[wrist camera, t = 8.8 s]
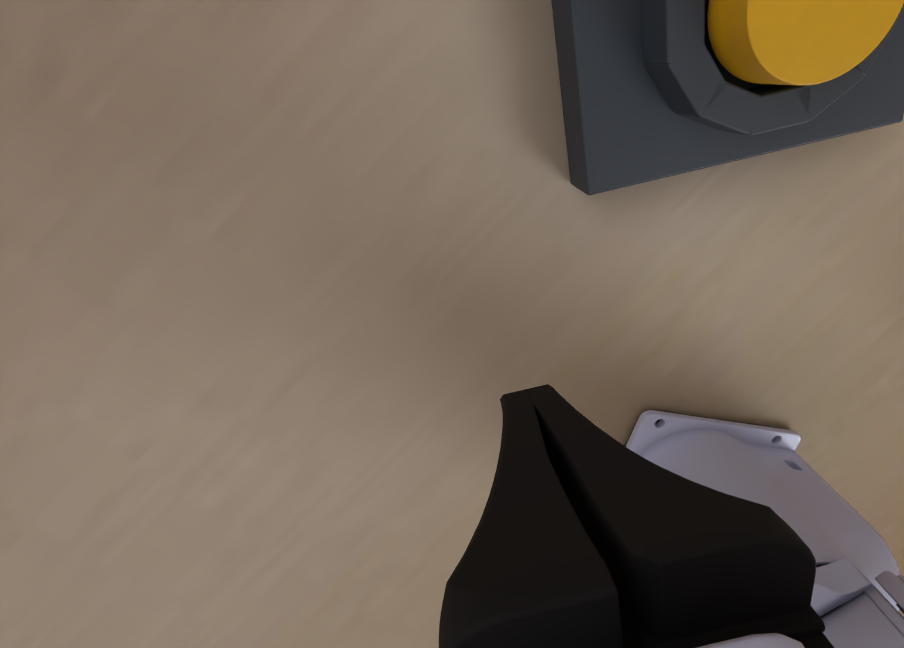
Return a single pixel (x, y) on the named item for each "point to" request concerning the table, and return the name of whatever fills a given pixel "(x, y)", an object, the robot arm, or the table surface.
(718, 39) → the button
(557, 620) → the robot arm
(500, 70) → the table surface
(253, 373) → the table surface
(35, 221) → the table surface
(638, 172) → the grey button base
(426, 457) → the table surface
